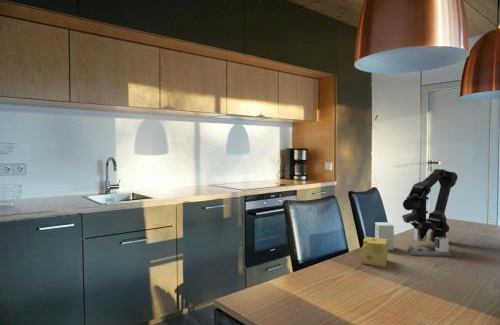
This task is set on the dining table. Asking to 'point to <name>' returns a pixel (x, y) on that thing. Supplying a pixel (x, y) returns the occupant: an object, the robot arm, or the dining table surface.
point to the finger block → (418, 235)
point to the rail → (439, 250)
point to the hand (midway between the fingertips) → (419, 238)
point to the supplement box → (385, 233)
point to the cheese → (374, 251)
